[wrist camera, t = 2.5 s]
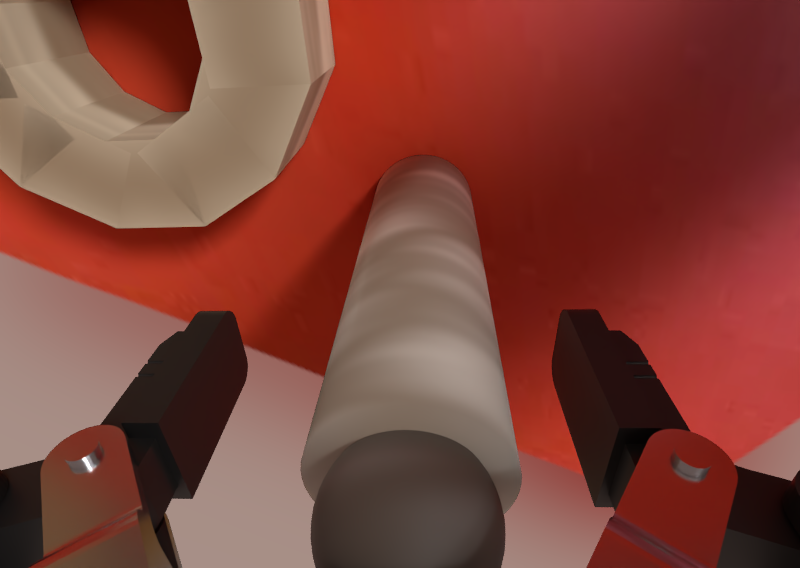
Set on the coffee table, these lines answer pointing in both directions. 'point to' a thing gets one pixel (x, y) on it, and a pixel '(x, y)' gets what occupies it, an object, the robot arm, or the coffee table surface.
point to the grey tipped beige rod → (414, 392)
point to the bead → (160, 112)
